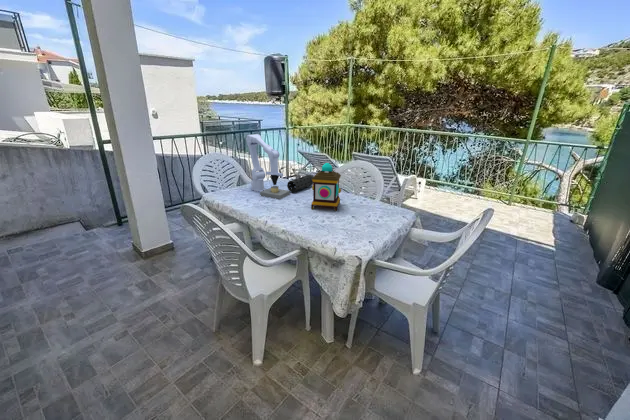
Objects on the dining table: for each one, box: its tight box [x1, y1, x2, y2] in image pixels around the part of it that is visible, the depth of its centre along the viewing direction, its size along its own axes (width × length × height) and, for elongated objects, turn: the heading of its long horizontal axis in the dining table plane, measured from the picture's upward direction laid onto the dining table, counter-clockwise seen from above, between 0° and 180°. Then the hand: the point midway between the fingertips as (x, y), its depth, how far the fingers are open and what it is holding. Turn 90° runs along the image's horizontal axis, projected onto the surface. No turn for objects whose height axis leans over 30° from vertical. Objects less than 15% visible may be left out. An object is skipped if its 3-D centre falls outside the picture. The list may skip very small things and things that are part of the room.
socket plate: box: [259, 187, 291, 200], centre depth 212 cm, size 18×14×3 cm
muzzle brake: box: [286, 174, 315, 194], centre depth 228 cm, size 10×28×10 cm, turn 147°
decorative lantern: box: [310, 162, 342, 212], centre depth 185 cm, size 20×20×30 cm
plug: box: [270, 185, 280, 193], centre depth 211 cm, size 4×4×7 cm
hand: (274, 184), depth 210 cm, fingers closed
